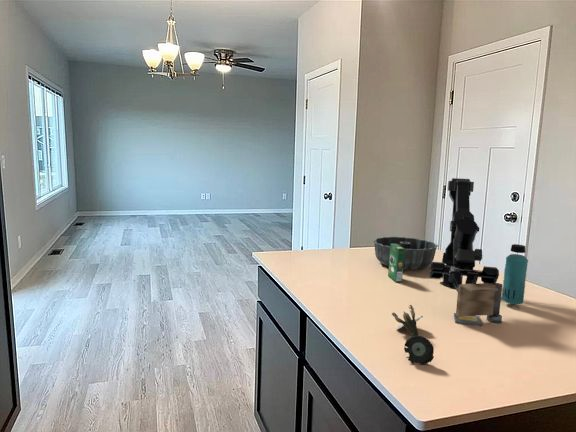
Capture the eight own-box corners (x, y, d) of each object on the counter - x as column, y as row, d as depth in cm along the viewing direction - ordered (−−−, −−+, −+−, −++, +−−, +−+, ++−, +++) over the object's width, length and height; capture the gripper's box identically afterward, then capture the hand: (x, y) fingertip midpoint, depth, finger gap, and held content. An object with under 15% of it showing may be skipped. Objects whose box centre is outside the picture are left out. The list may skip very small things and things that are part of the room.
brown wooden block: (495, 312, 128) (499, 280, 126) (511, 321, 121) (515, 288, 120) (454, 314, 125) (457, 282, 124) (468, 323, 119) (471, 289, 117)
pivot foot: (492, 317, 129) (493, 311, 129) (504, 321, 126) (505, 316, 126) (483, 319, 128) (483, 313, 127) (495, 324, 124) (496, 318, 124)
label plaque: (479, 318, 128) (479, 315, 128) (481, 326, 122) (482, 323, 122) (453, 315, 130) (454, 312, 130) (455, 322, 124) (455, 320, 124)
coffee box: (402, 282, 161) (405, 248, 159) (395, 282, 160) (397, 248, 158) (394, 276, 169) (397, 243, 167) (387, 276, 168) (389, 243, 166)
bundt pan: (386, 254, 204) (388, 233, 202) (443, 264, 189) (445, 241, 187) (361, 265, 183) (363, 242, 181) (423, 278, 168) (425, 252, 166)
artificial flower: (397, 368, 100) (388, 325, 101) (398, 339, 122) (391, 304, 122) (437, 363, 98) (427, 320, 98) (431, 334, 120) (423, 299, 120)
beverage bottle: (521, 303, 142) (528, 243, 139) (524, 310, 136) (532, 248, 132) (499, 300, 144) (505, 241, 141) (501, 307, 138) (508, 245, 134)
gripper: (433, 235, 130) (431, 281, 121) (501, 240, 125) (504, 289, 116) (430, 255, 139) (428, 299, 130) (494, 260, 134) (496, 307, 125)
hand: (463, 298), depth 125 cm, fingers closed
